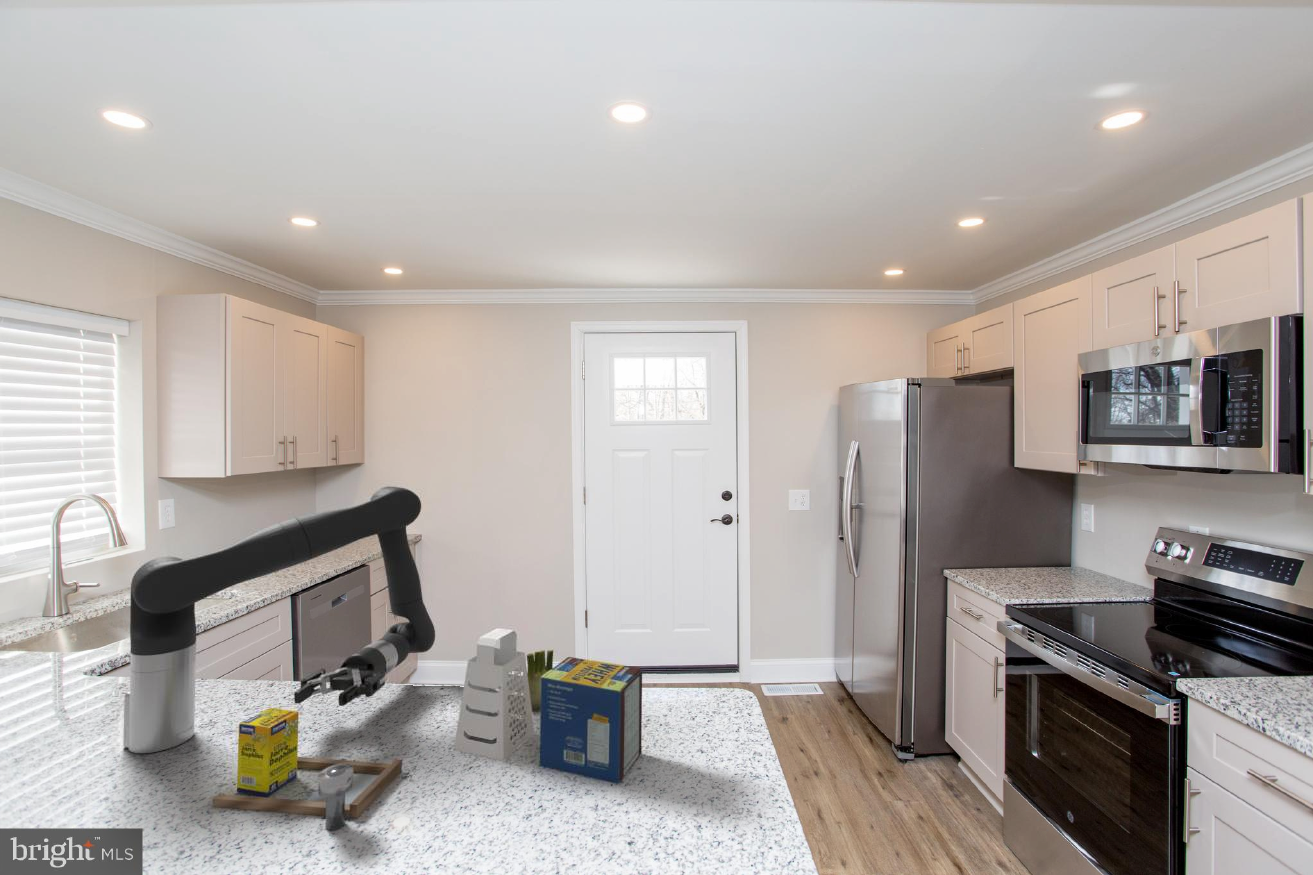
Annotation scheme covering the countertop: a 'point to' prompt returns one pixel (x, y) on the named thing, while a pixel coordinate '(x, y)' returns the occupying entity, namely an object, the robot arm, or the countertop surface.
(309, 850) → the countertop surface
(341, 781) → the grey bolt
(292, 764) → the supplement box
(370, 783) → the bay
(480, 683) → the grater
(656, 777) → the countertop surface
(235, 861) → the countertop surface
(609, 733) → the protein box
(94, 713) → the countertop surface
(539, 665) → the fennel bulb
